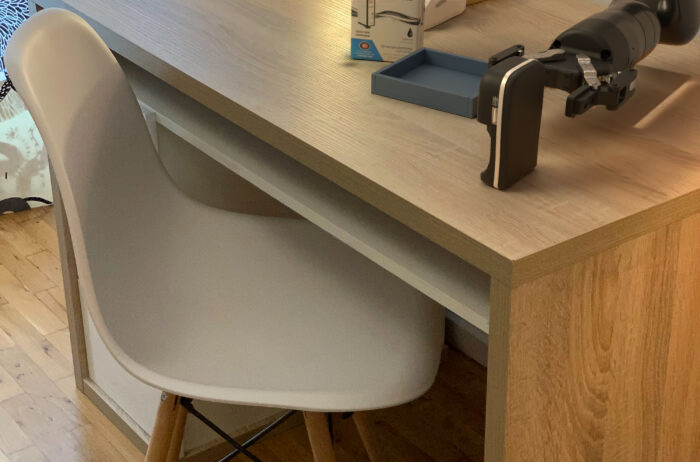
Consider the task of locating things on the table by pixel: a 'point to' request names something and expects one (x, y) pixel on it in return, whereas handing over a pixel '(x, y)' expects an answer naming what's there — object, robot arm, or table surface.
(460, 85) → the tray
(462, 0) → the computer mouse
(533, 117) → the battery charger
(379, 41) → the ink box
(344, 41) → the table surface
